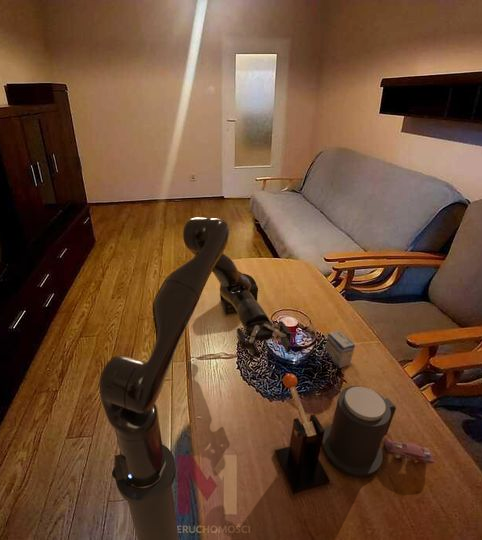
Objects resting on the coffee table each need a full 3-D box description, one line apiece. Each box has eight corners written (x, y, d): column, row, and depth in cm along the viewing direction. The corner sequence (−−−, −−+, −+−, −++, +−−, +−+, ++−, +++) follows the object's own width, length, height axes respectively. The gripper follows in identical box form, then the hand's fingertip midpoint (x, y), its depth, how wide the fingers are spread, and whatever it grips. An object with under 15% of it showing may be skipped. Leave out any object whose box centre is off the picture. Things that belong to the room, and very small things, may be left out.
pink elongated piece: (383, 457, 86) (391, 454, 80) (383, 438, 88) (390, 433, 83) (428, 469, 83) (439, 466, 78) (426, 448, 86) (437, 444, 80)
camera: (218, 300, 144) (217, 269, 137) (250, 296, 146) (251, 265, 139) (223, 316, 135) (223, 283, 128) (258, 311, 137) (260, 279, 130)
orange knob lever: (279, 377, 84) (282, 373, 81) (292, 375, 85) (296, 370, 82) (301, 440, 76) (305, 437, 73) (315, 436, 77) (320, 433, 74)
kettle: (341, 485, 79) (356, 435, 70) (311, 431, 91) (320, 383, 82) (398, 468, 82) (419, 419, 73) (362, 419, 94) (376, 371, 85)
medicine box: (323, 352, 116) (327, 332, 112) (334, 349, 118) (338, 329, 113) (339, 369, 110) (343, 348, 106) (350, 365, 111) (355, 344, 107)
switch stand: (274, 452, 86) (280, 410, 78) (308, 444, 88) (316, 402, 80) (292, 494, 78) (300, 451, 70) (329, 483, 80) (340, 440, 72)
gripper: (229, 309, 100) (248, 346, 87) (275, 301, 103) (300, 336, 90) (229, 329, 104) (247, 368, 90) (273, 321, 107) (297, 358, 93)
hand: (273, 352), depth 90 cm, fingers open, 8 cm apart
